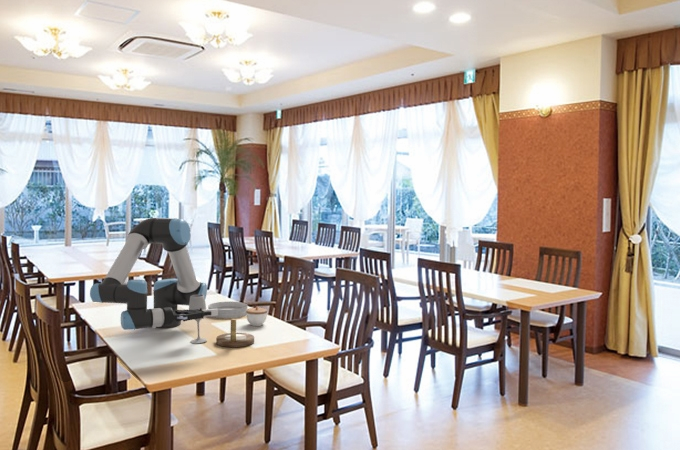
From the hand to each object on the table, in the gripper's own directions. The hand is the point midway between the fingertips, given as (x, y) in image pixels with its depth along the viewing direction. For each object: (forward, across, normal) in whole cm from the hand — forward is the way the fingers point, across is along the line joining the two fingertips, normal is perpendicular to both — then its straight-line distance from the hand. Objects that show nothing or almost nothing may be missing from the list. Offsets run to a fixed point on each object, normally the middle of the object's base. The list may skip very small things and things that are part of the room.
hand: (217, 311), depth 229 cm
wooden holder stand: (+11, -7, -16) cm, 21 cm away
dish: (+29, -63, -16) cm, 71 cm away
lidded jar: (+33, -33, -16) cm, 49 cm away
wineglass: (-3, -16, -16) cm, 23 cm away
